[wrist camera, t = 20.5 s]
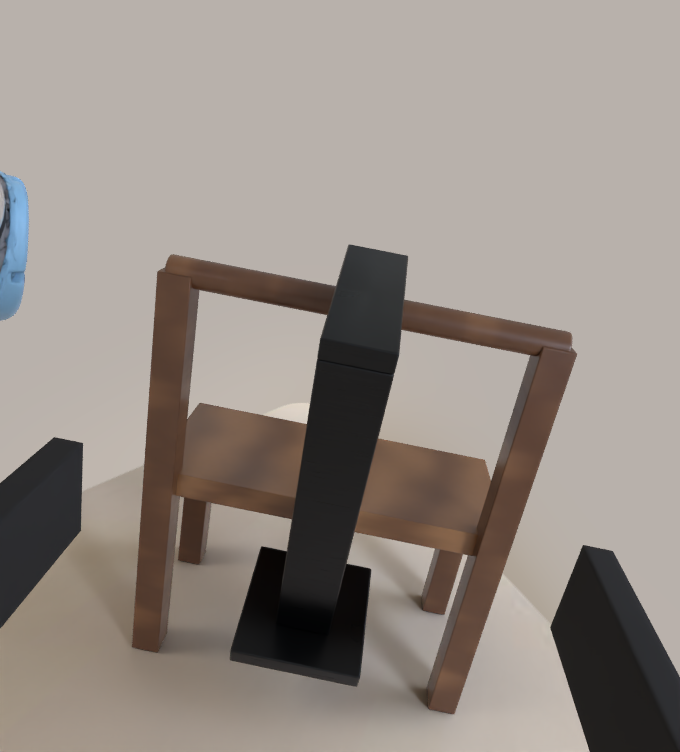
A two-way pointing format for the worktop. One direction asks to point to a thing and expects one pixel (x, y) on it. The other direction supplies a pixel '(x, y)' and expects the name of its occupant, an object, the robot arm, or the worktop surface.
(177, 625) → the worktop surface
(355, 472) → the black pedestal stand
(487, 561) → the chair
